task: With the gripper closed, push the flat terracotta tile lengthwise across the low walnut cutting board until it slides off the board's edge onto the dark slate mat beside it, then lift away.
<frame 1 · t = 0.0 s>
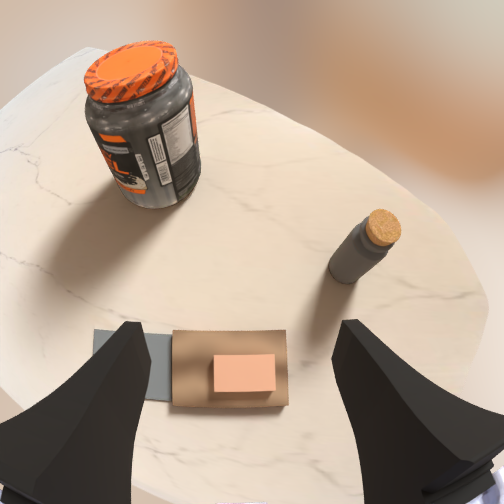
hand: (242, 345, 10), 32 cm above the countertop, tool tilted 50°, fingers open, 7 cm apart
board: (229, 369, 39), on the countertop
supplement tub: (161, 177, 51), on the countertop
bottle: (344, 267, 46), on the countertop
mat: (130, 364, 38), on the countertop
tile: (244, 373, 37), point 2 cm above the countertop, touching board
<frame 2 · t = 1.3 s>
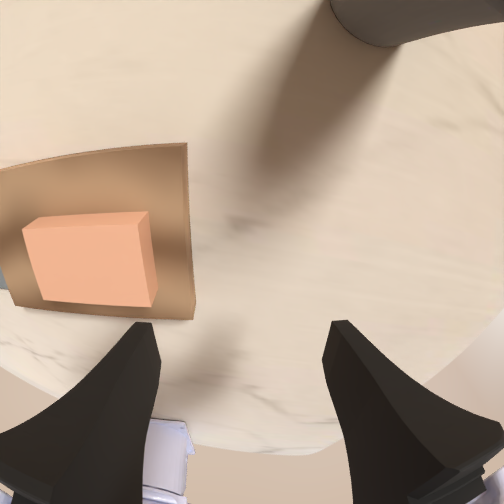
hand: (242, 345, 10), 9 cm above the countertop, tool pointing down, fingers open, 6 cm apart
board: (80, 232, 17), on the countertop
bottle: (370, 10, 12), on the countertop
tile: (94, 252, 16), point 2 cm above the countertop, touching board
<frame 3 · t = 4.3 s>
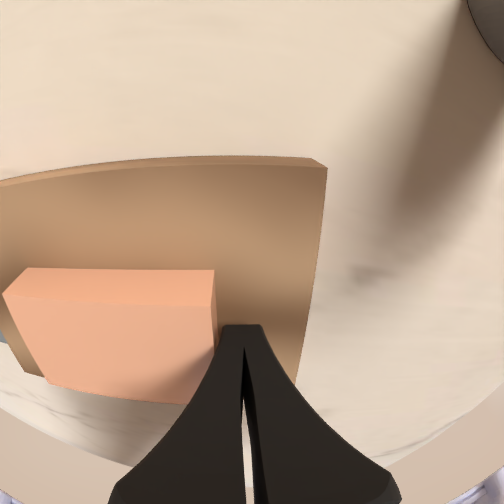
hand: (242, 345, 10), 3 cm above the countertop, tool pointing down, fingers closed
board: (119, 285, 12), on the countertop
bottle: (497, 22, 6), on the countertop
tile: (119, 323, 10), point 2 cm above the countertop, touching gripper
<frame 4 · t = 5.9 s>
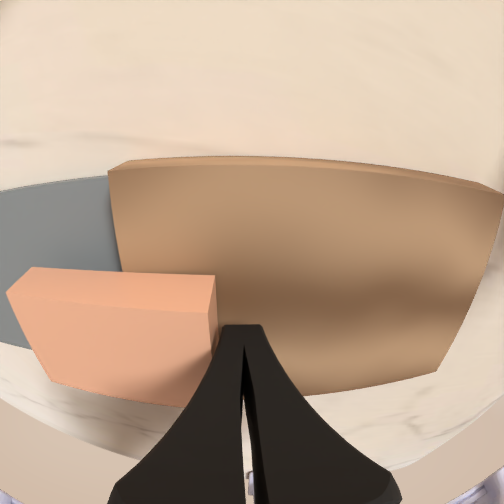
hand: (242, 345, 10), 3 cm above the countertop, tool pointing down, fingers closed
board: (325, 285, 13), on the countertop
mat: (29, 281, 12), on the countertop
tile: (121, 324, 11), point 2 cm above the countertop, touching board, gripper
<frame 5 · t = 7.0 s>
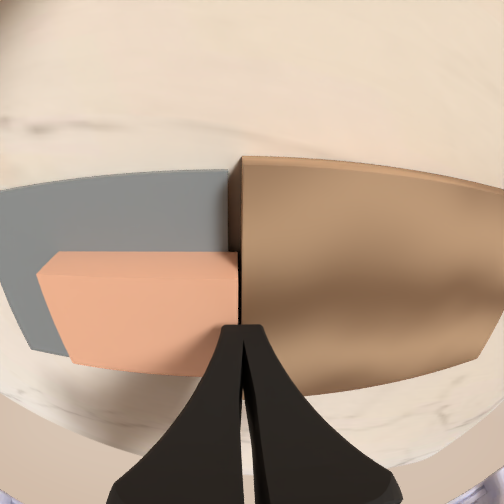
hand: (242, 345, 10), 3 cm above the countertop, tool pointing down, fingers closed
board: (403, 282, 13), on the countertop
mat: (91, 284, 12), on the countertop
tile: (146, 302, 12), resting on mat
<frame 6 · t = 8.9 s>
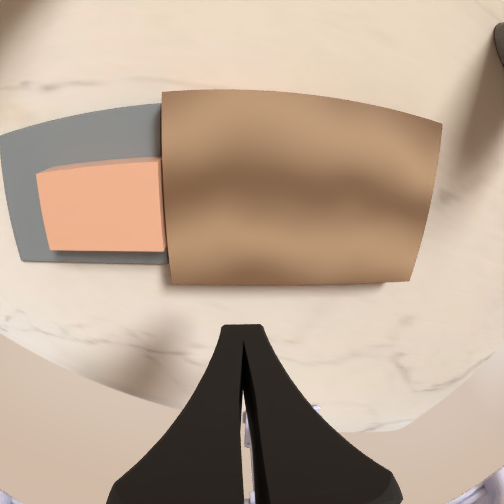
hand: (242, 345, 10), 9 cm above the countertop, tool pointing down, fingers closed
board: (305, 188, 17), on the countertop
mat: (72, 192, 16), on the countertop
tile: (107, 199, 16), resting on mat
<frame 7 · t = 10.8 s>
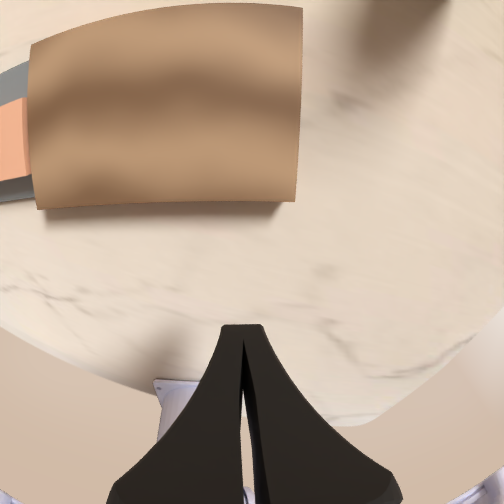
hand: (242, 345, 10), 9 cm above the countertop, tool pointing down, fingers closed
board: (153, 103, 14), on the countertop
tile: (3, 143, 13), resting on mat
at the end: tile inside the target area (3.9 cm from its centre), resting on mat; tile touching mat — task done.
